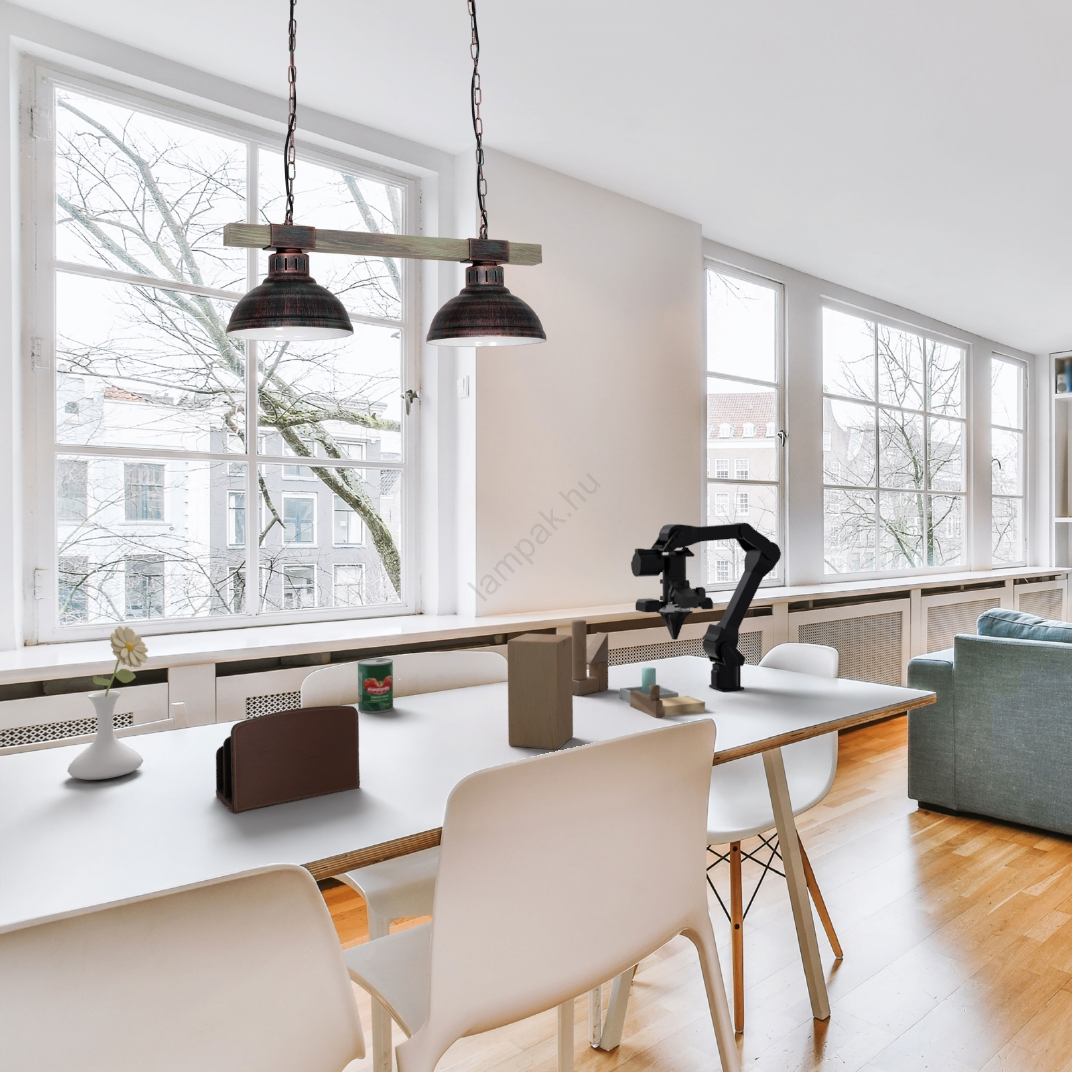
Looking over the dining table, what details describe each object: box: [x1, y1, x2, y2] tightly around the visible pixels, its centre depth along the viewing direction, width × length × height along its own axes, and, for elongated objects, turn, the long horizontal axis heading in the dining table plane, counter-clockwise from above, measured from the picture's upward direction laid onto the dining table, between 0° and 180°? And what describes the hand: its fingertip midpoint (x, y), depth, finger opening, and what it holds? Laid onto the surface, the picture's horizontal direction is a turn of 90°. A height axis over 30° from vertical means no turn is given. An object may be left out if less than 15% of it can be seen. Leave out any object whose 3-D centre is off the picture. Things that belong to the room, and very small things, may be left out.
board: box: [660, 695, 706, 717], centre depth 182 cm, size 10×7×2 cm
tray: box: [619, 685, 679, 704], centre depth 191 cm, size 10×10×2 cm
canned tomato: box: [356, 657, 394, 714], centre depth 186 cm, size 8×8×11 cm
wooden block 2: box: [571, 619, 609, 697], centre depth 202 cm, size 4×11×18 cm, turn 135°
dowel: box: [641, 667, 657, 695], centre depth 191 cm, size 3×3×7 cm
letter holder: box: [215, 705, 361, 815], centre depth 129 cm, size 10×20×14 cm, turn 125°
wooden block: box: [507, 633, 574, 751], centre depth 157 cm, size 10×10×20 cm
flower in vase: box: [66, 625, 149, 781], centre depth 140 cm, size 13×11×25 cm
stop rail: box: [629, 684, 664, 719], centre depth 181 cm, size 2×12×6 cm, turn 20°
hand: (674, 639), depth 200 cm, fingers closed
